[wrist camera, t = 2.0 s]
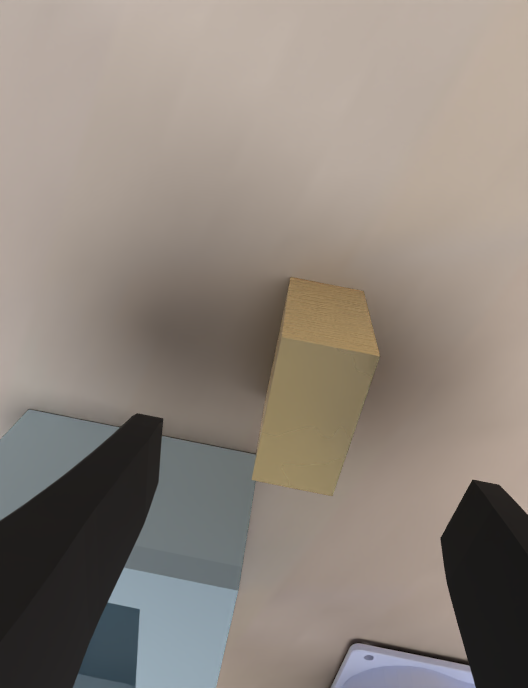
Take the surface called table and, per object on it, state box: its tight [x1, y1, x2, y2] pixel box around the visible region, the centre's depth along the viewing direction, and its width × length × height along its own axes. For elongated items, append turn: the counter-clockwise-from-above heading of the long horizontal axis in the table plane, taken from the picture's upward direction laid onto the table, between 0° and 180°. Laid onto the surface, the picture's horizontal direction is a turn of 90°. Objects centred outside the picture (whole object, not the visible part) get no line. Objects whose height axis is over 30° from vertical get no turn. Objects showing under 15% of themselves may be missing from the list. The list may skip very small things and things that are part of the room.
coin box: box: [0, 409, 256, 688], centre depth 19 cm, size 10×11×6 cm
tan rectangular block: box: [252, 277, 380, 496], centre depth 14 cm, size 2×5×4 cm, turn 170°
